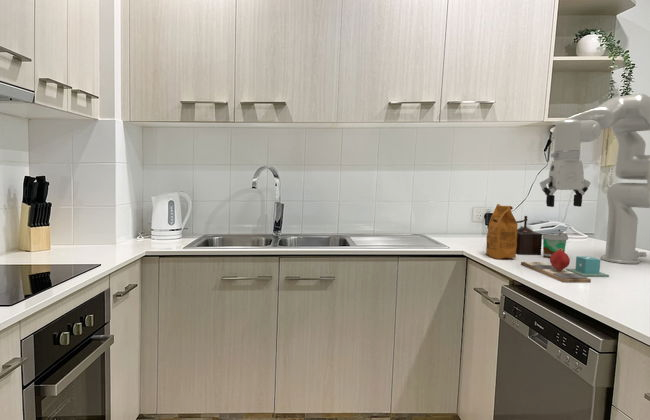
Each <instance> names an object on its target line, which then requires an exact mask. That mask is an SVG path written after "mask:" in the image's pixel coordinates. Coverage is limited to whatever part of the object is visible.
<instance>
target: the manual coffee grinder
mask: <svg viewBox="0 0 650 420" xmlns="http://www.w3.org/2000/svg"><path fill="white" fill-rule="evenodd" d="M516 222H517V224H520V223H523V222H524V223H523V224H524V225H523V226H520V227H519V228H517V240H516V241H517V247H516V255H518V256H541V255H542V247H543V246H542V245H543V242H542V241H543V239H542V237H543V233H540V232H537V231H534V230H533V229H531V228H529V227H527V224H528V223H527V222H528V215H524V219H522V220H516Z"/></svg>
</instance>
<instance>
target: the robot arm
mask: <svg viewBox="0 0 650 420" xmlns="http://www.w3.org/2000/svg"><path fill="white" fill-rule="evenodd" d="M608 128H610V129H611V131H612V132H613V134H614V136H615V139H616V140H617V144H618V147H617V148H618V149H617V157H616V163H615V177H617V178H618V179H620V180H629V181H631V180H632V181H635V180H636V181H642V180H643V181H646V183H645V182H617V183H613V184H612V185H610V186H609V187H608V188H607V190H606V197H607V205H608V206H607V207H608V213H607V214H608V215H607V217H608V218H607V230H606V240H605V241H606V242H605V243H606V244H605V254H601V255H600V260H603V261H607V262H611V263H616V264H625V265H626V264H628V265H630V264H631V265H633V264H635V265H636V264H639V263H640V262H641V261H640V259H638V258H639V257H640V258H646V257H647V255H648V254H647V252H645V251H640V252H639V251H638V250H636V246H637V235H638V233H637V232H638V224H639V221H638V220H639V219H638V215H637V213H636V212H635V211H634V209H633V208H639V209H640V208H641V209H643V208H644V209H650V154H647V155H645V154H646V153H645V152H646V146H647V145H646V141H645V139H644V138H643V137H642V135H641V134H639V132H644V131H645V132H646V131H650V96H649V95H647V94H645V93H634V94H633V93H632V94H627V95H621V96H616V97H612V98H610V99H608V100H606V101H605V102H602V103H601V104H600V105H598V106H596V107H595V108H592V109H588V110H586V111H583V112H580V113H578V114H577V113H576V114H575V115H572V116H570V117H566V118H565V119H562V120H559V121H557V122H556V123H555V126H554V129H553V132H552V138H553V140H554V143H553V144H554V146H553V147H554V148H553V153H551V154H550V157H551V158H552V159H553V160H552V161H551V163H550V167H549V173H548V178H546V179H544V180H542V181H540V182H539V186H540V188H541V191H543V193H544V194H545V196H546V201H545V203H546V207H548V208H549V207H551V208H554V207H555V199H556V198H555V195H554V194H555V193H556V191H557V190H558V191H572V190H573V192H574V195H573V202H572V203H573V207H582V206H583V205H582V204H583V196H584V195H585V193H586V192H587V191H588V190H589V187H590V185H591V182H590V181H589V180H587V179H585V174H584V165H583V161H582V160H580V153H581V152H580V151H581V143H589V142H593V141H595V140H597V139H598V138H600V136H601V132H602V131H604V130H606V129H608ZM547 186H548V187H547Z"/></svg>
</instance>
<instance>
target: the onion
mask: <svg viewBox="0 0 650 420" xmlns="http://www.w3.org/2000/svg"><path fill="white" fill-rule="evenodd" d="M549 261H550V263H549V264H551V265H552V266H553V267H554V268H555V269H556V270H557V271H562V270H563V269H564V270H566V269H567V267H569V266H570V262H571V258H570V257H569V255H568V254H567V253H566V251H565V252H563V250H562V248H560V249H559V250H558V251H556V252H554V253H553V254H552V255H551V257H550V258H549Z"/></svg>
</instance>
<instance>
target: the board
mask: <svg viewBox="0 0 650 420" xmlns="http://www.w3.org/2000/svg"><path fill="white" fill-rule="evenodd" d="M520 265H521V266H523V267H526V268H529V269H531V270H533V271H535V272H537V273H540V274H542V275H545V276H547V277H550V278H552V279H555V280H557V281H558V282H562V283H591V282H592V279H591V278H590V277H584V276H581V275H578V274H575V273H573V272H570V271H567V270H566V269H563V270H562V271H557V270H556V269H555V268H554V267H553V266H552V265H551V263H548V262H545V261H521V262H520Z"/></svg>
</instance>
